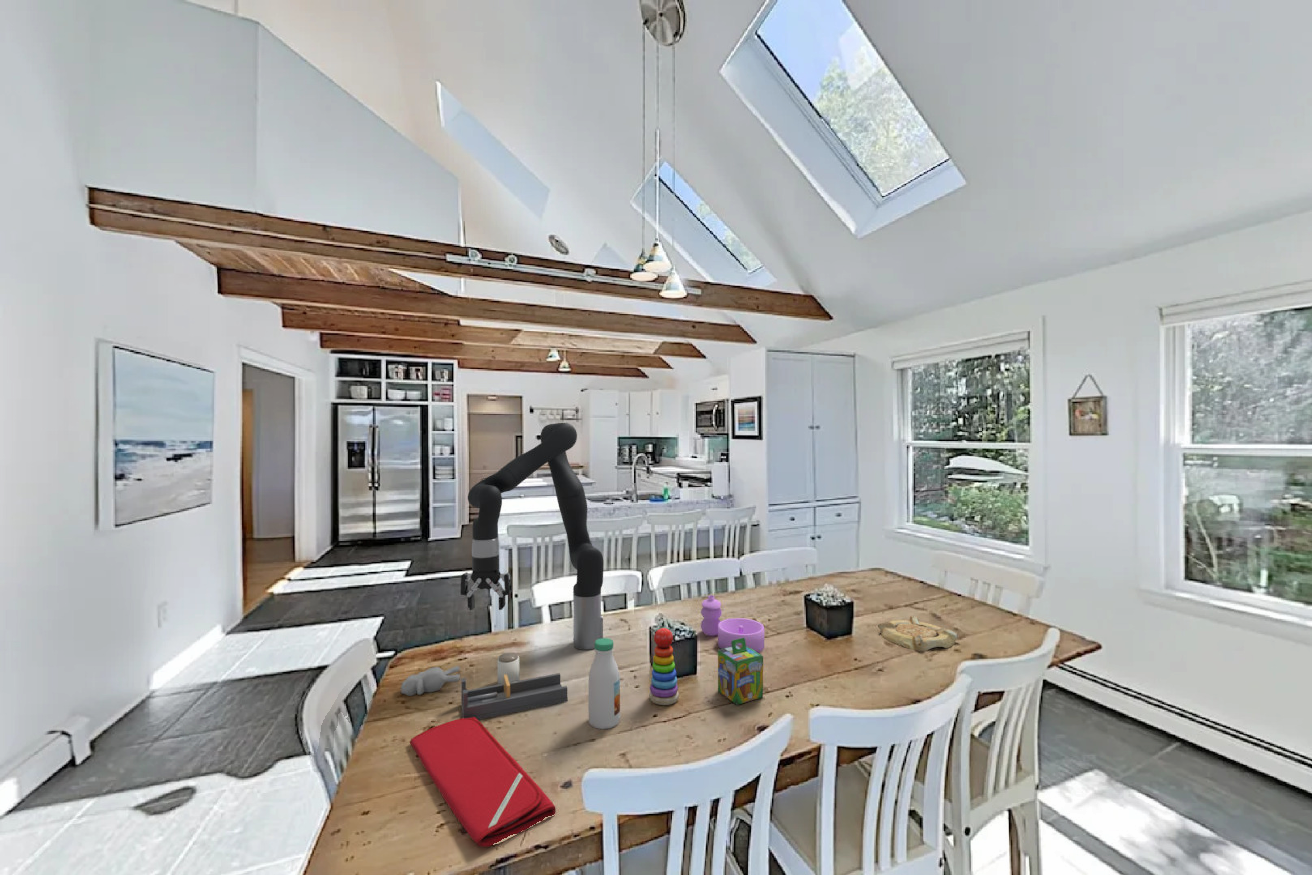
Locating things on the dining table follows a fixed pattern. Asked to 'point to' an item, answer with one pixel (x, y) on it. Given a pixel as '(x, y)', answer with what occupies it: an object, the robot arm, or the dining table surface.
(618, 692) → the milk bottle
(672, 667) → the stacking toy
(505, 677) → the pusher
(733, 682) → the chalk box
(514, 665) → the spice jar
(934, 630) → the ashtray
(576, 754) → the dining table surface
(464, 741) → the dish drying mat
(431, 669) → the bunny figurine
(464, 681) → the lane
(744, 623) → the container set
